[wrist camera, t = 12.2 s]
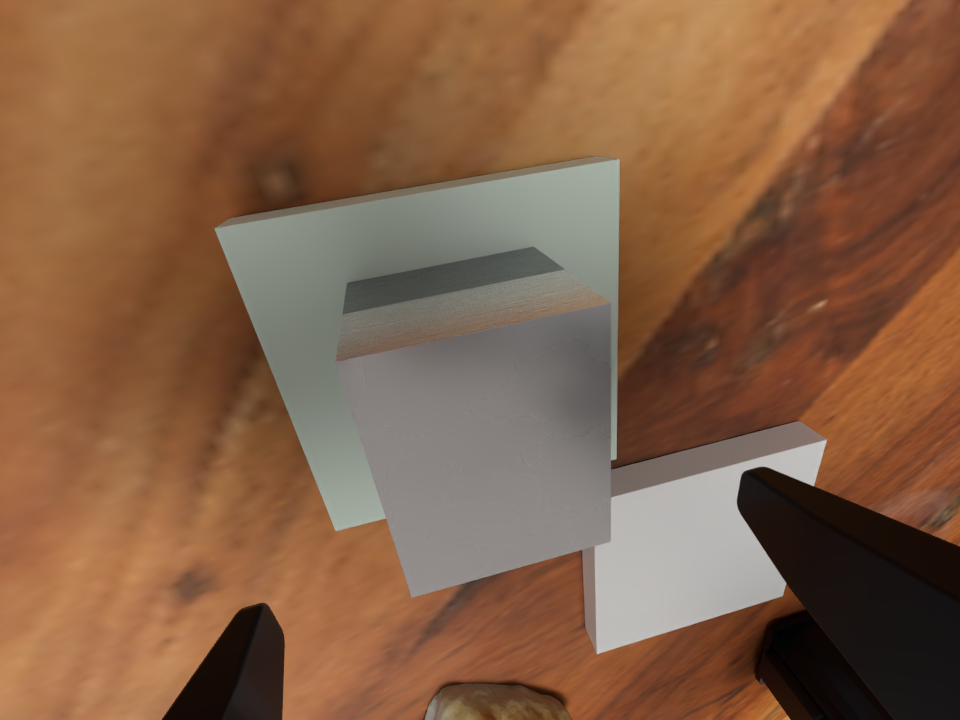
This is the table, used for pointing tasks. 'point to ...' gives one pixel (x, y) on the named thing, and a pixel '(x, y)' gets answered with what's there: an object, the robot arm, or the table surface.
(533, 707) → the pastry
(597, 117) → the table surface
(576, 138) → the table surface
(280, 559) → the table surface
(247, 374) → the table surface
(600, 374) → the block
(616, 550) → the stand
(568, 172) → the stand
